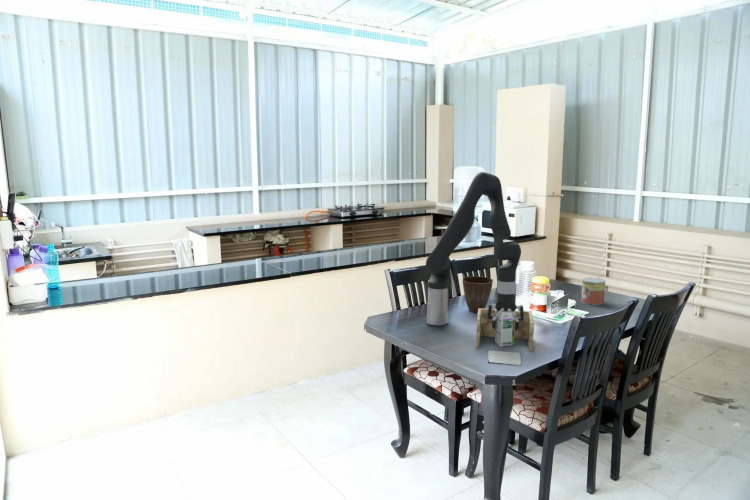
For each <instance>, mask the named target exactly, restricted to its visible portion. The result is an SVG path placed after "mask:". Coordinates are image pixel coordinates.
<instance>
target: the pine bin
mask: <svg viewBox="0 0 750 500" xmlns="http://www.w3.org/2000/svg"><path fill="white" fill-rule="evenodd" d="M514 312H515V314H516V315H517V317H520V311H518V310H517V309H516V310H515V311H514ZM495 313H496V308H494V309H493V310H491V316H494V314H495ZM523 313H524V320H523V321H519V328H518V329H517V330H515V320H514V339H518V340H519V339H520V340H527V344H528V351H529V353H533V351H534V331H535V330H534V328H535V322H534V321H535V320H534V316H533V312H532V311H531V310H523ZM487 336H488V337H489V338H491V337H492V338H495V329H494V328H492V320H491V319H488V308H485V309H481V308H478V312H477V317H476V338H475V339H476V340H475V341H476V342H475V346H476V347H475V348H476V349H479V348H480V344H481V342H480V341H481V337H487ZM488 337H487V338H488Z"/></svg>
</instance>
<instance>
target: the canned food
mask: <svg viewBox="0 0 750 500" xmlns="http://www.w3.org/2000/svg"><path fill="white" fill-rule="evenodd" d="M605 289H606V280H605V279H604V278H603V279H602V278H599V277H583V278H582V284H581V298H580V302H581V303H582V302H583V303H582V304H585V303H586V304H585V305H589V304H592V305H591V306H600V305H601V304H602V305H604V304H605Z"/></svg>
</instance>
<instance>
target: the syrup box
mask: <svg viewBox="0 0 750 500" xmlns="http://www.w3.org/2000/svg"><path fill="white" fill-rule="evenodd" d="M495 309H496V308H495ZM496 313H498V311H497V309H496ZM499 313H500V315H499V316H498V317H497V318H496V327H495V337H494V343H496V344H497V345H499V347H508V346H509V347H511V346H514V345H515V338H514V320H515V319H514V318H513V317H512V312H509V311H500V312H499ZM513 313H514V314H515V312H513Z"/></svg>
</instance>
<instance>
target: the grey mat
mask: <svg viewBox="0 0 750 500" xmlns="http://www.w3.org/2000/svg"><path fill="white" fill-rule="evenodd" d="M487 355H488V356H487V357H488V358H489V357H491V358H489V359H488V358H487V361H488V360H490V359H491V360H490V361H492V362H495V363H504V364H503V365H506V364H512V365H511V366H519V367H520V366H522V361H521V359H522V358H521V352H513V351H511V352H510V351H499V350H488V354H487ZM492 358H493V359H492ZM490 361H489V362H490Z"/></svg>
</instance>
